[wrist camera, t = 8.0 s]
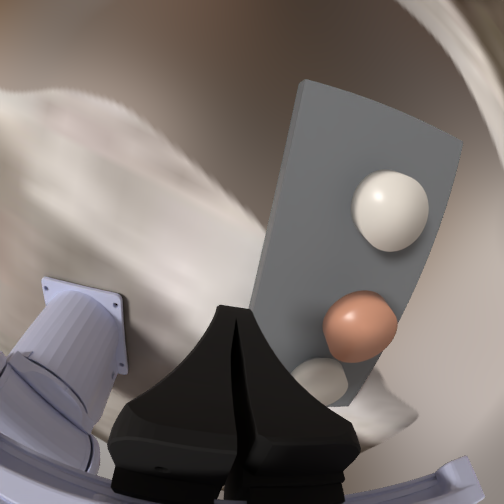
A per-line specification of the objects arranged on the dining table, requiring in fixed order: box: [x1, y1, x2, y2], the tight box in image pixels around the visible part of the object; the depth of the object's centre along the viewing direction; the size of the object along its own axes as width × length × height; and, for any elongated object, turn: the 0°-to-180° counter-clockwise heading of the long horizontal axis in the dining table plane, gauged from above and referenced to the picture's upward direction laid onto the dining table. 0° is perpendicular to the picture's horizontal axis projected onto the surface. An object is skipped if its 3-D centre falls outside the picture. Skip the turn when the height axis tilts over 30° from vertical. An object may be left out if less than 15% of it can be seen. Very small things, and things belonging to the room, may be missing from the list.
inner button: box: [291, 357, 348, 406], centre depth 22 cm, size 4×4×3 cm
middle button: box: [322, 290, 397, 363], centre depth 17 cm, size 4×4×3 cm
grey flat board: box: [249, 79, 463, 407], centre depth 21 cm, size 26×12×2 cm, turn 169°
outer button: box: [351, 169, 429, 252], centre depth 16 cm, size 4×4×3 cm
